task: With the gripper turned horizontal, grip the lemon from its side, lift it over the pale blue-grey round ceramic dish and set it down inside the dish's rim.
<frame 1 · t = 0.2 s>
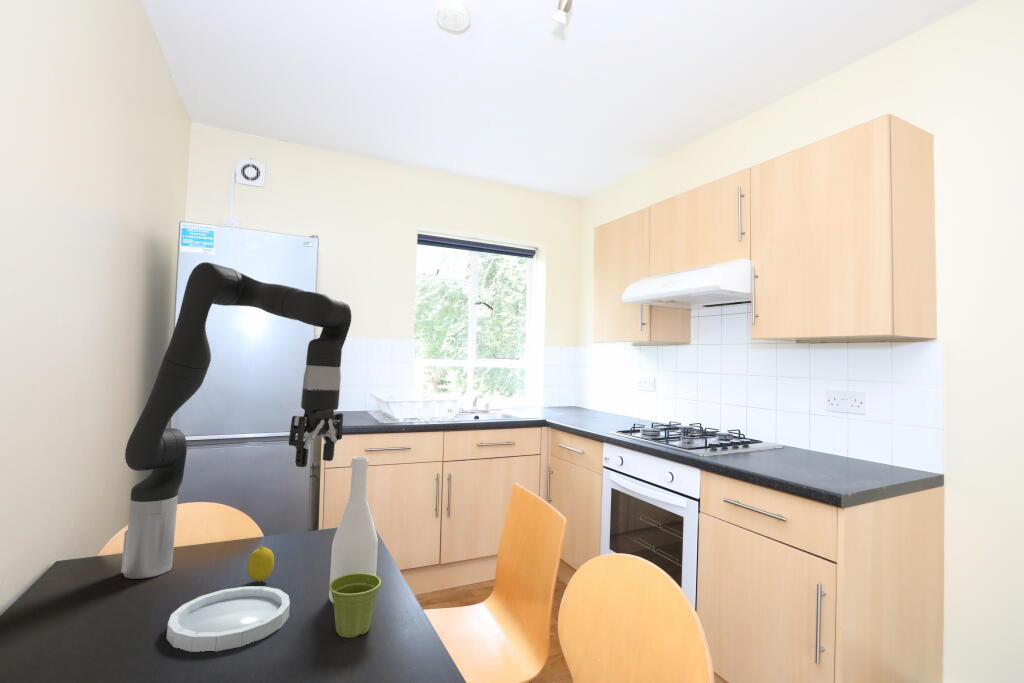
hand: (314, 463, 104), 29 cm above the table, tool pointing down, fingers open, 8 cm apart
dish: (231, 622, 93), on the table
wine bottle: (352, 599, 105), on the table
plant pot: (352, 631, 92), on the table
lemon: (259, 583, 111), on the table
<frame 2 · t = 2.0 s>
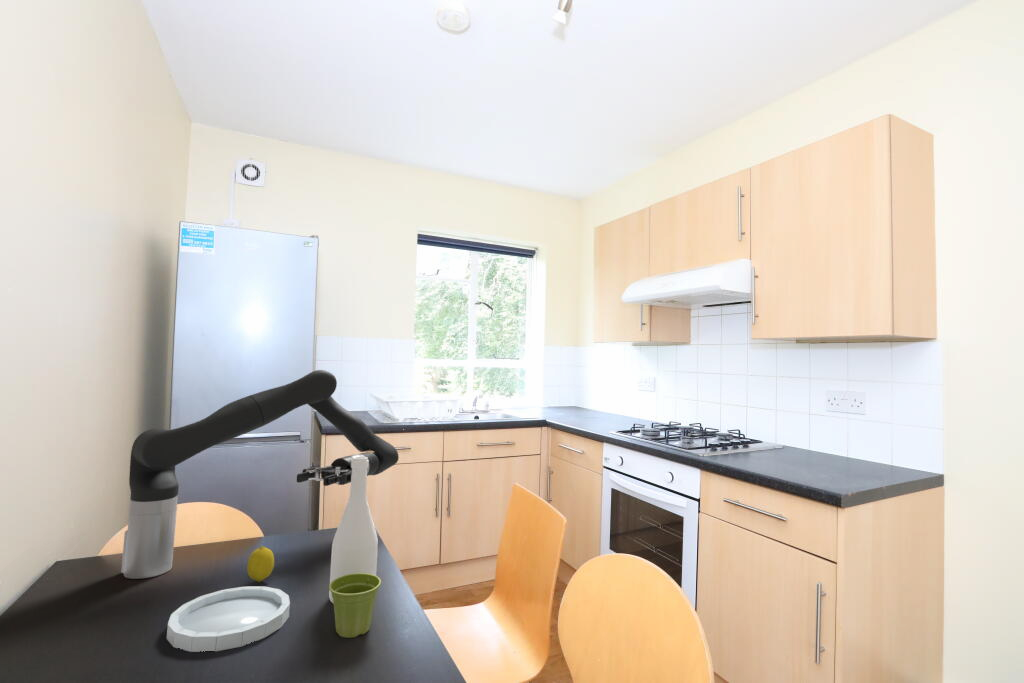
hand: (311, 480, 127), 20 cm above the table, tool horizontal, fingers open, 8 cm apart
nothing on the table moved.
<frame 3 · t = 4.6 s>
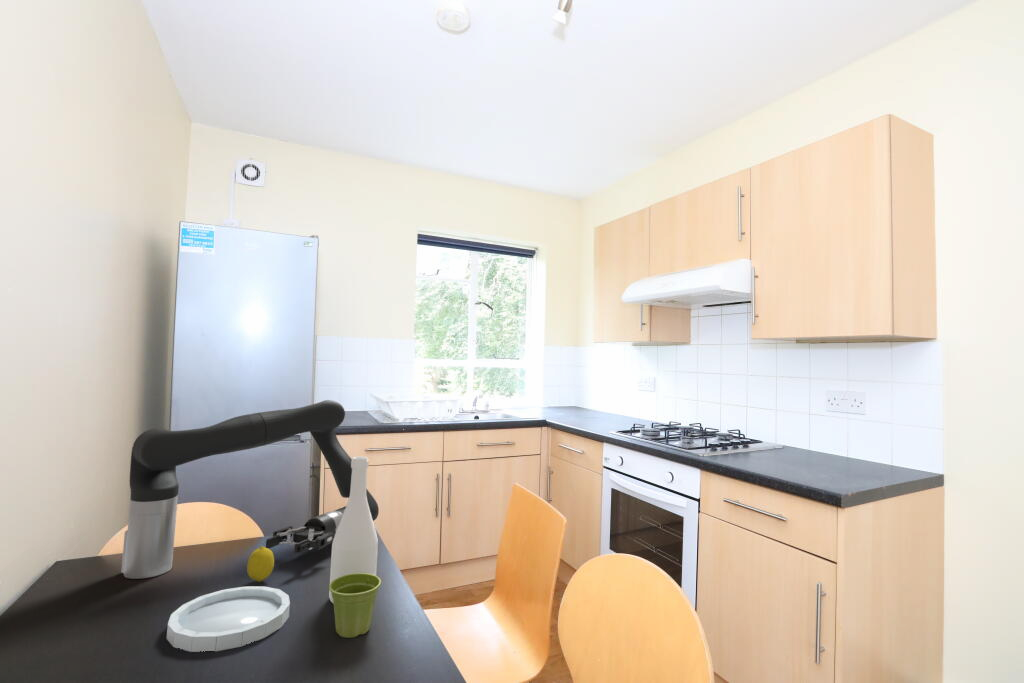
hand: (281, 546, 118), 6 cm above the table, tool horizontal, fingers open, 8 cm apart
nothing on the table moved.
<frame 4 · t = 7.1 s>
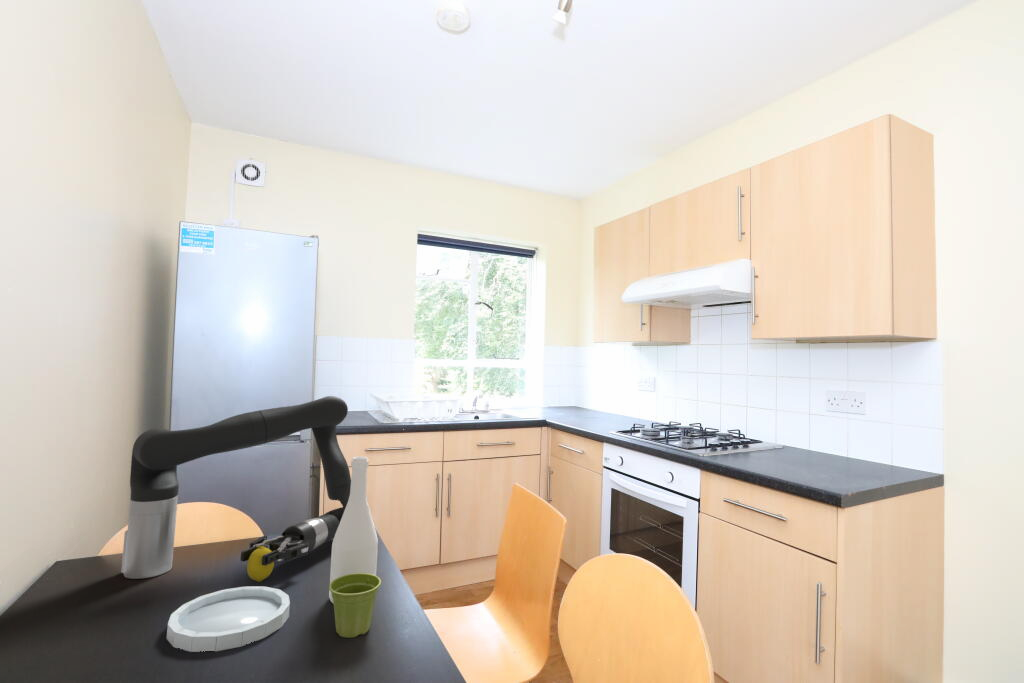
hand: (252, 558, 109), 6 cm above the table, tool horizontal, fingers closed on lemon, 5 cm apart
lemon: (259, 583, 111), on the table, touching gripper
everything else where it was.
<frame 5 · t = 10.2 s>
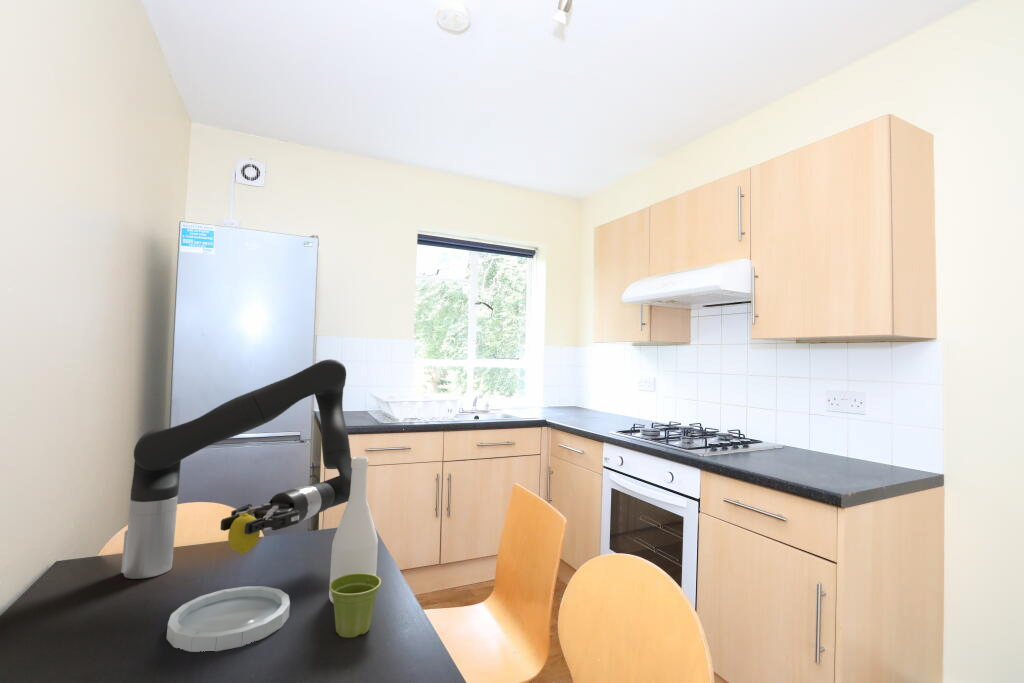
hand: (234, 527, 95), 18 cm above the table, tool horizontal, fingers closed on lemon, 5 cm apart
lemon: (243, 555, 97), point 12 cm above the table, touching gripper
everything else where it was.
when the fingers open (8 cm above the table, at t = 13.2 s): lemon drops 1 cm, resting on dish.
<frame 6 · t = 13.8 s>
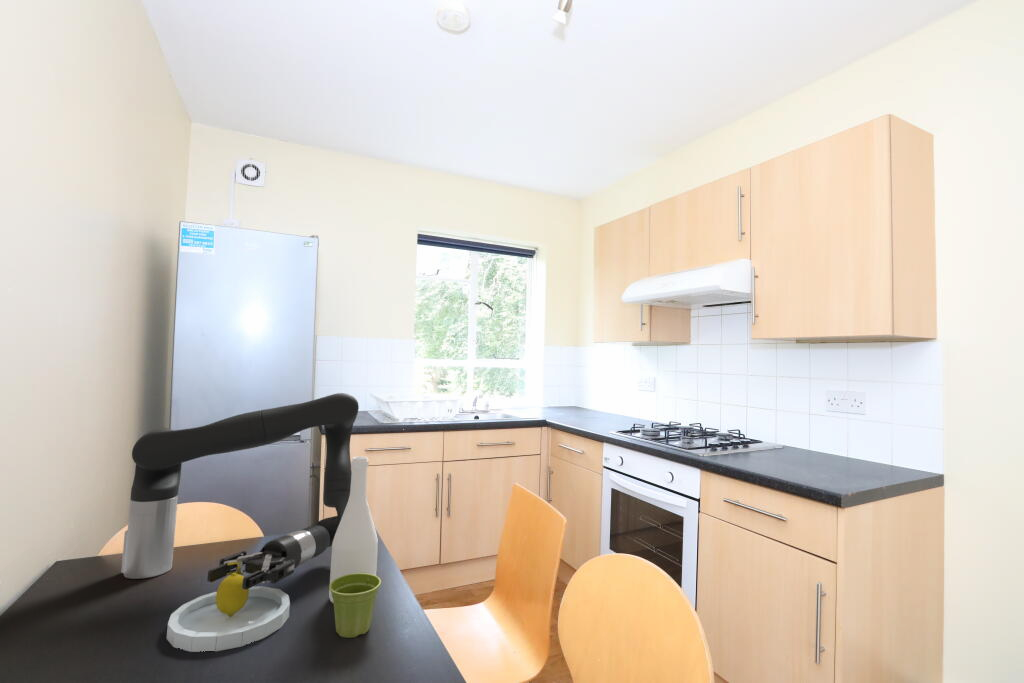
hand: (226, 580, 92), 8 cm above the table, tool horizontal, fingers open, 8 cm apart
lemon: (230, 617, 94), point 1 cm above the table, touching dish
everything else where it was.
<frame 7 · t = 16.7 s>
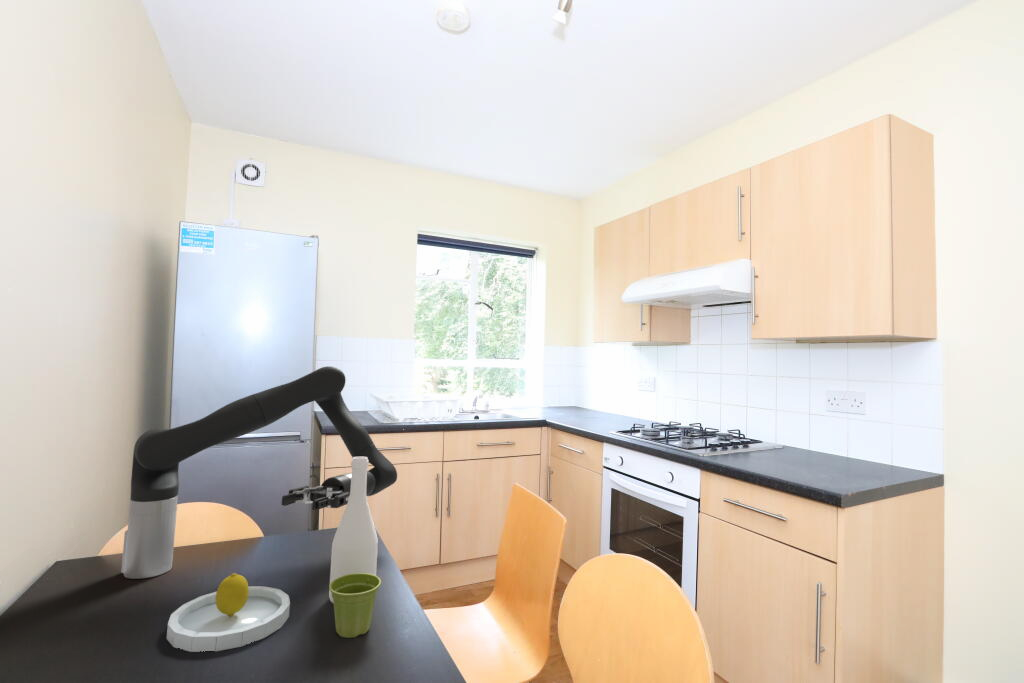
hand: (298, 503, 110), 19 cm above the table, tool horizontal, fingers open, 8 cm apart
nothing on the table moved.
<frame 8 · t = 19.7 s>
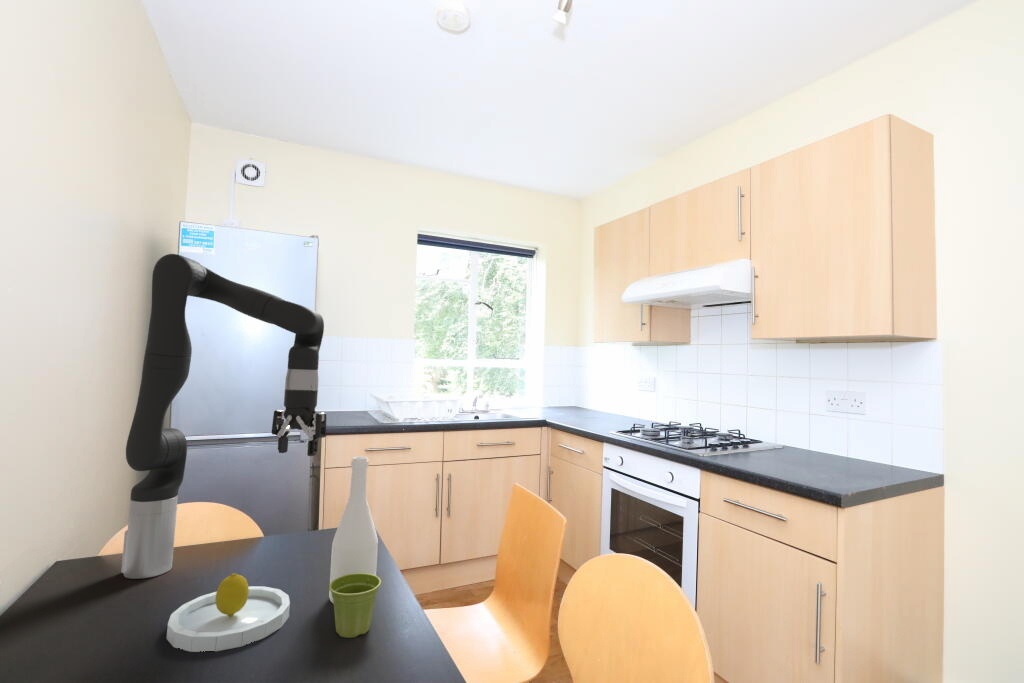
hand: (297, 454, 119), 28 cm above the table, tool pointing down, fingers open, 8 cm apart
nothing on the table moved.
at the end: lemon 0.4 cm from the dish (horizontally); lemon point 0.8 cm above the table; the gripper is holding nothing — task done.
